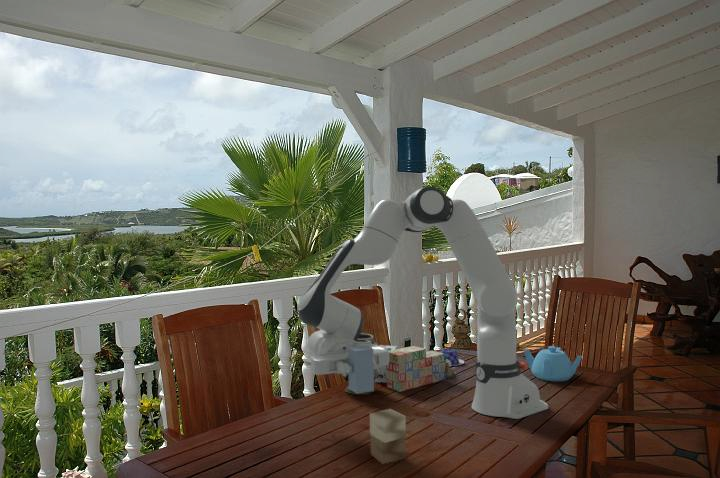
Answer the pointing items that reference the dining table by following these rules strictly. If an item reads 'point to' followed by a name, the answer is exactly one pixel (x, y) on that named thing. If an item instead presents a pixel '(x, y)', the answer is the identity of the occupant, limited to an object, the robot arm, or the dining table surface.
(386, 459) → the tower base
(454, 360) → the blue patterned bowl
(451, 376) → the eagle figurine
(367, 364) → the pillar
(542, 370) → the teapot
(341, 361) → the robot arm
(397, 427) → the tower top
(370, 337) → the apothecary jar
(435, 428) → the dining table surface
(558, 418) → the dining table surface
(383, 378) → the light bulb box
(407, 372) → the stack of blocks
